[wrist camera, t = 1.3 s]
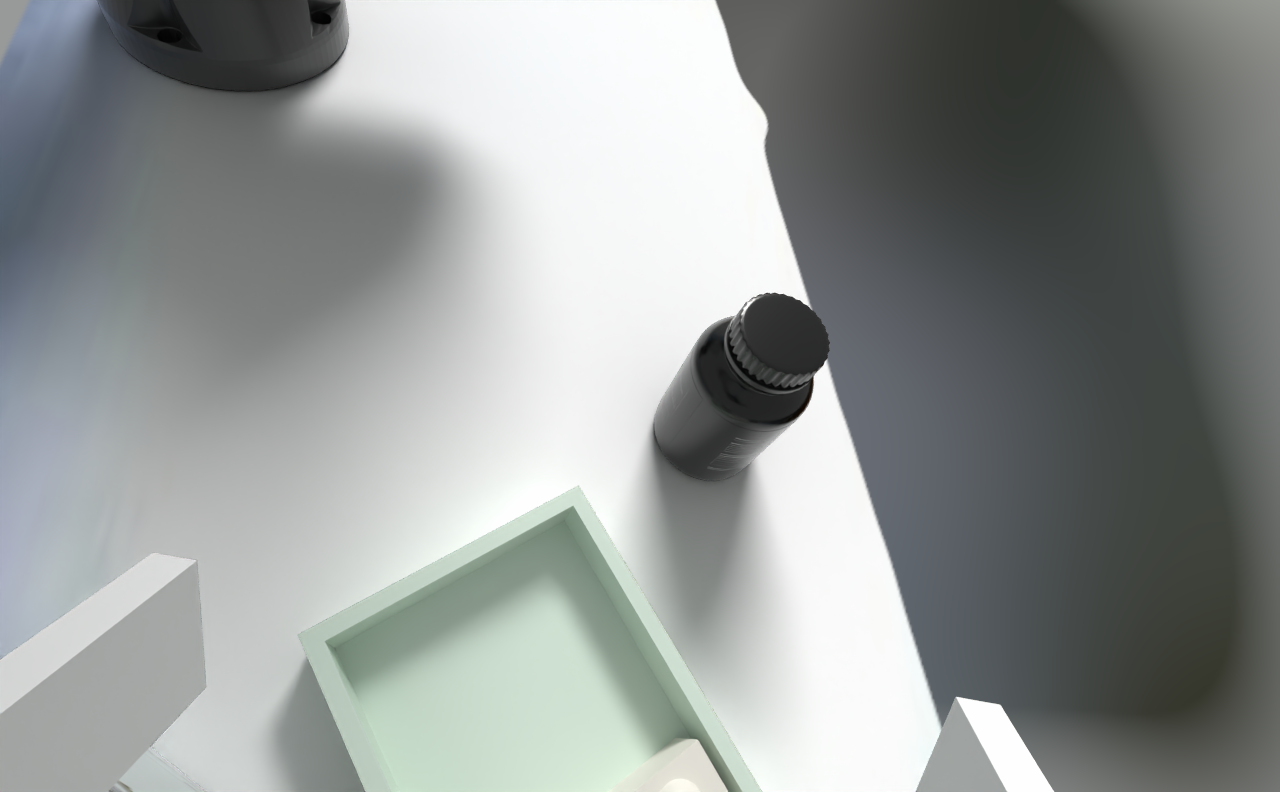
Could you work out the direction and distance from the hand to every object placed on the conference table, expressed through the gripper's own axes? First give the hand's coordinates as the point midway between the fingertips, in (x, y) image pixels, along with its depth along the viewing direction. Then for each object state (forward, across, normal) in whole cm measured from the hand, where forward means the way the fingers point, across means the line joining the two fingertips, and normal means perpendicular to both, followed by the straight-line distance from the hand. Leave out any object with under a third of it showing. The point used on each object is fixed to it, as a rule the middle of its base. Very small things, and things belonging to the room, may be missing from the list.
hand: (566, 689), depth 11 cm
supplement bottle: (+29, +5, -6) cm, 30 cm away
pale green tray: (+14, -1, -18) cm, 23 cm away
